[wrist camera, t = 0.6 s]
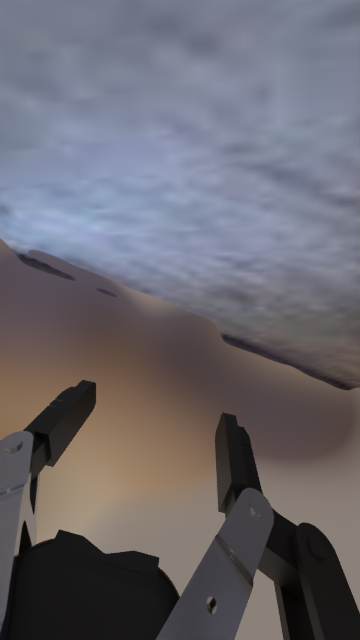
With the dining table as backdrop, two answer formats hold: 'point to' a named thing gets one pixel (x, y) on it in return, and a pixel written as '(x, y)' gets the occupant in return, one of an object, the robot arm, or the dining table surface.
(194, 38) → the dining table surface
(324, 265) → the dining table surface
